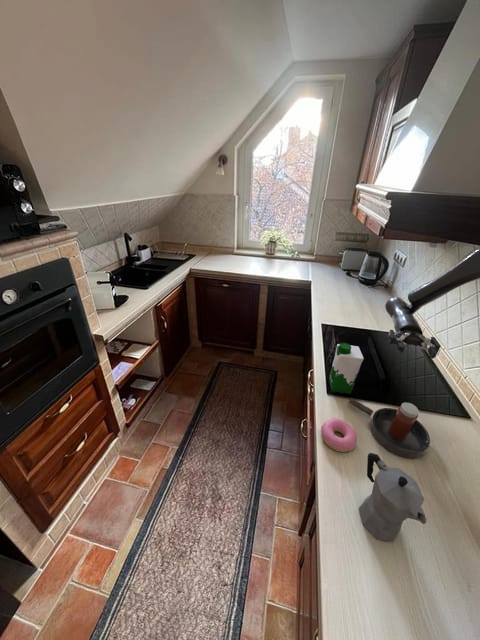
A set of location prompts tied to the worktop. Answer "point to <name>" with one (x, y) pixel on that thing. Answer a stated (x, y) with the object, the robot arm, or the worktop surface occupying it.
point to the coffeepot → (390, 501)
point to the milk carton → (345, 368)
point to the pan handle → (360, 406)
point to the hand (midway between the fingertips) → (417, 353)
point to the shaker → (403, 421)
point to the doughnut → (337, 442)
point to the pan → (407, 448)
